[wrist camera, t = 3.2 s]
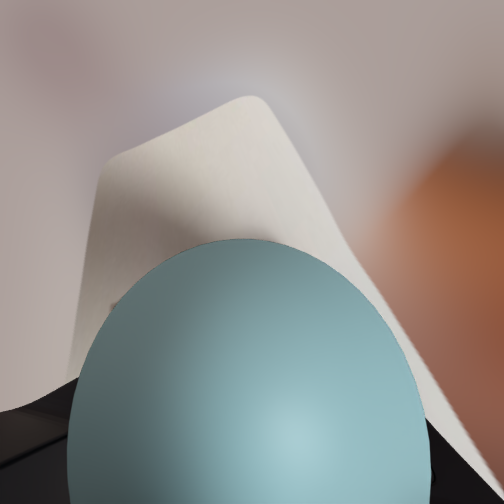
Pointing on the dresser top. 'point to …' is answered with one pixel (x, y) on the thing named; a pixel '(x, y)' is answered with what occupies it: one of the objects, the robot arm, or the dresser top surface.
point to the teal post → (246, 389)
